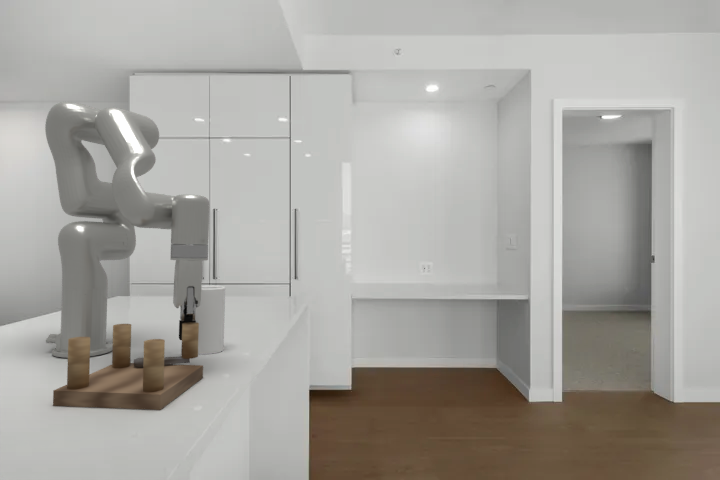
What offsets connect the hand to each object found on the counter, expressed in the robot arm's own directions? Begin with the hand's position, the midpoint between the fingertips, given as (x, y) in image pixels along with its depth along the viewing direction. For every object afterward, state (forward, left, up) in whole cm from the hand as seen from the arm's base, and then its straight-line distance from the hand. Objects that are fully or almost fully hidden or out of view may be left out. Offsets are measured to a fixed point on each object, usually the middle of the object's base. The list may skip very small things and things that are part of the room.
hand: (187, 339), depth 98 cm
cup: (-2, +18, -7) cm, 19 cm away
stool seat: (-3, -14, -7) cm, 16 cm away
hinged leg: (-2, -5, -4) cm, 7 cm away
